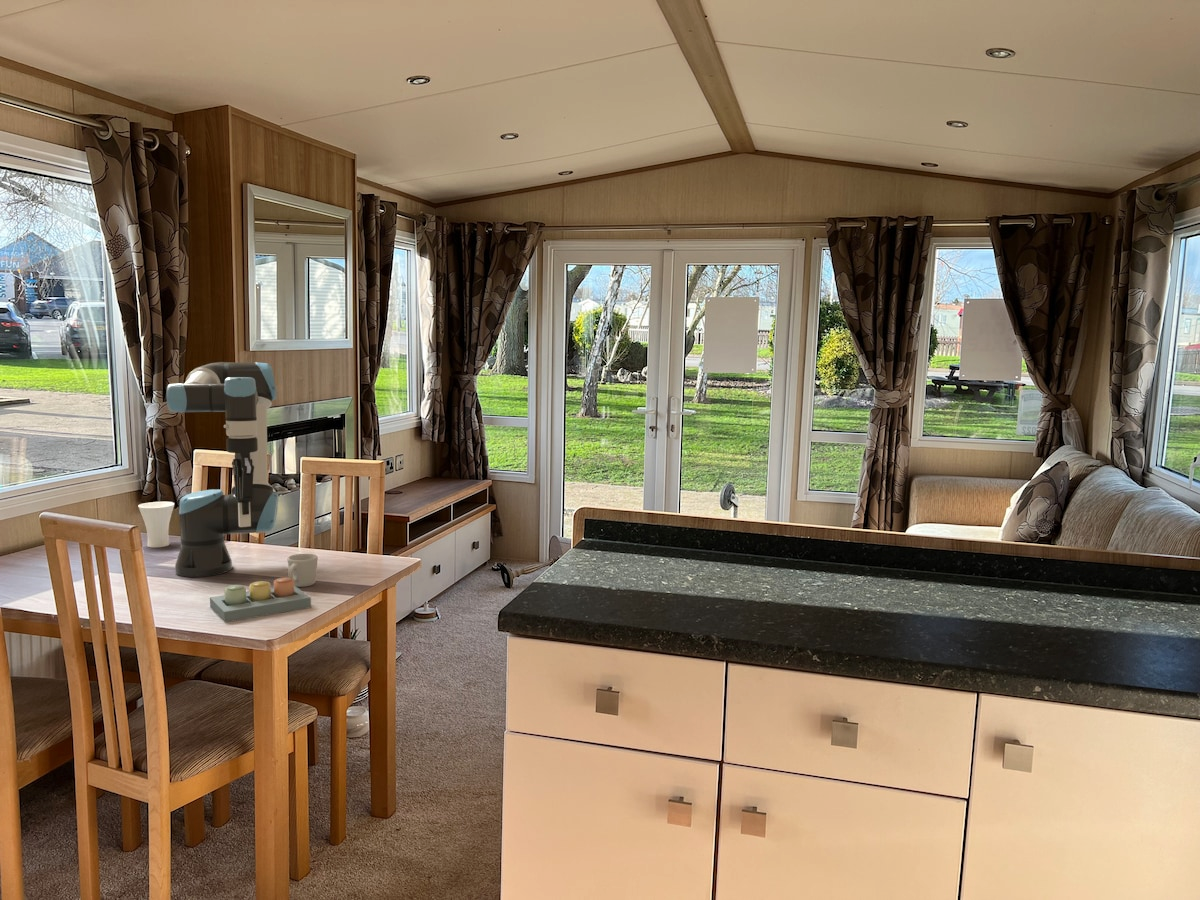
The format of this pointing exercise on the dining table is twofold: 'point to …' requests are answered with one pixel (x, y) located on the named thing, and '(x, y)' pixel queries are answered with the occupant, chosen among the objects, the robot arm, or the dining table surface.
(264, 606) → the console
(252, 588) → the button ochre
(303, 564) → the cup
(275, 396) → the robot arm
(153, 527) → the cup
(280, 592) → the button terracotta
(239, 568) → the dining table surface
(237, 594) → the button sage
